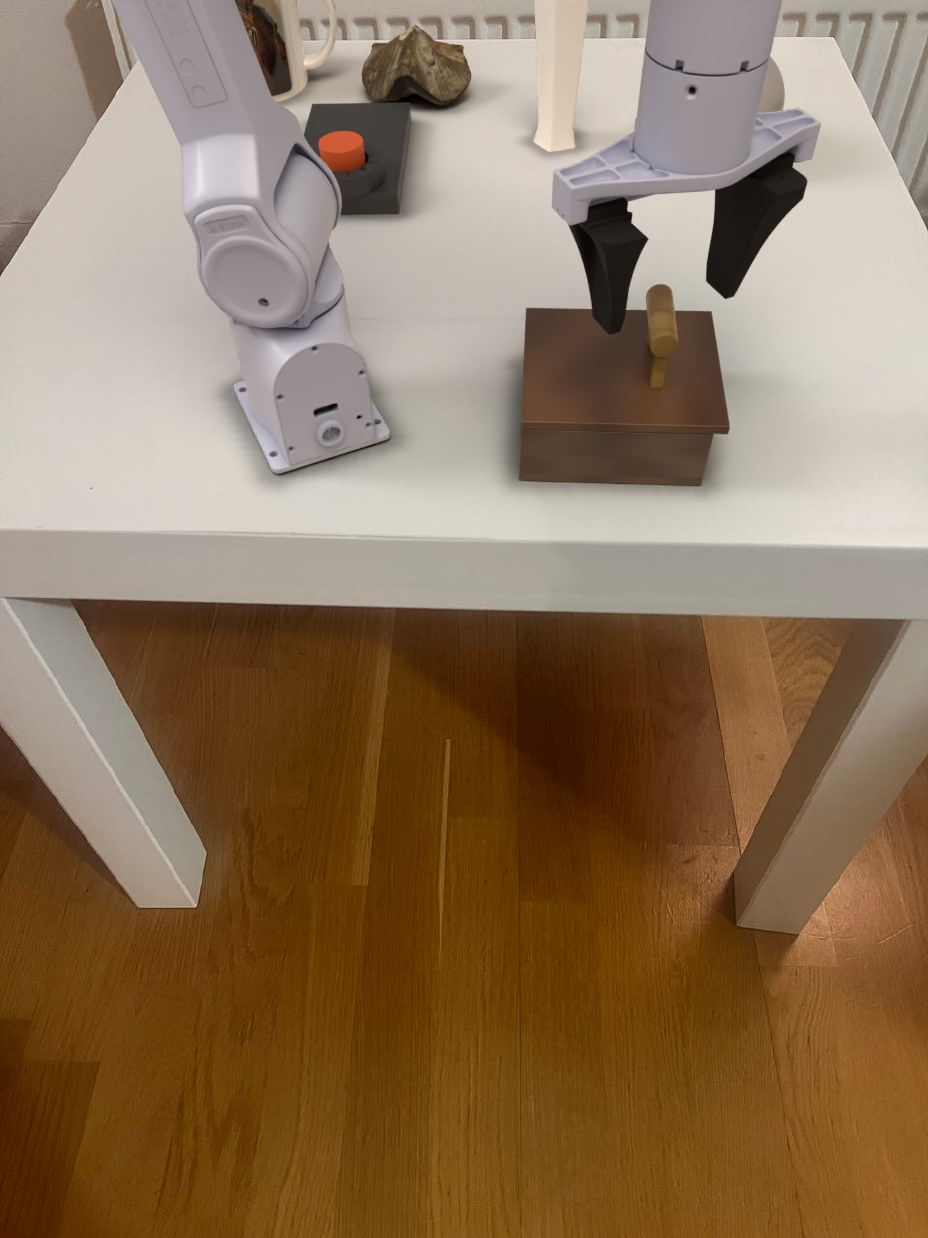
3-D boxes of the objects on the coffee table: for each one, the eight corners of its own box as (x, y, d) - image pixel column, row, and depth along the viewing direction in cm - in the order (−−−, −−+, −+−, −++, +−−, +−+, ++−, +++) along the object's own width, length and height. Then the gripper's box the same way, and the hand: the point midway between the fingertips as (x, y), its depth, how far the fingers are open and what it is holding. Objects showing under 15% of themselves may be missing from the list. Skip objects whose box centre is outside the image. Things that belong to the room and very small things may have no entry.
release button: (363, 173, 75) (361, 151, 74) (318, 174, 75) (315, 152, 74) (367, 151, 78) (365, 130, 76) (324, 152, 78) (321, 130, 76)
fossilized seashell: (485, 57, 89) (395, 59, 93) (459, 3, 83) (364, 8, 87) (463, 130, 89) (374, 129, 93) (435, 81, 83) (341, 82, 87)
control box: (398, 219, 77) (395, 178, 74) (289, 220, 77) (282, 179, 74) (411, 123, 87) (408, 83, 84) (315, 124, 87) (309, 84, 85)
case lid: (710, 318, 61) (723, 255, 57) (728, 434, 54) (744, 371, 51) (525, 315, 62) (527, 252, 58) (520, 429, 55) (522, 366, 51)
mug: (261, 52, 97) (238, -76, 88) (350, 79, 93) (335, -52, 84) (188, 90, 92) (156, -41, 83) (278, 121, 88) (255, -13, 79)
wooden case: (687, 370, 64) (697, 318, 61) (701, 486, 57) (714, 435, 54) (523, 366, 65) (525, 315, 62) (519, 480, 58) (520, 430, 55)
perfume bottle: (592, 143, 84) (609, -54, 72) (553, 158, 82) (564, -40, 70) (561, 124, 86) (572, -70, 74) (522, 138, 85) (527, -58, 73)
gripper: (785, -10, 47) (730, 240, 58) (527, 48, 44) (520, 302, 55) (877, 42, 43) (800, 300, 54) (602, 110, 40) (578, 371, 51)
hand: (664, 306), depth 54 cm, fingers open, 7 cm apart
